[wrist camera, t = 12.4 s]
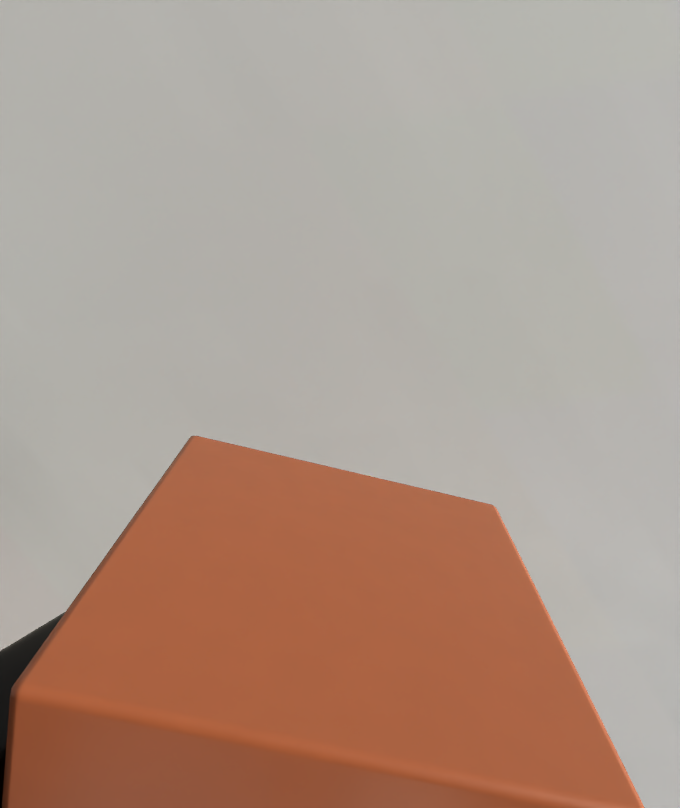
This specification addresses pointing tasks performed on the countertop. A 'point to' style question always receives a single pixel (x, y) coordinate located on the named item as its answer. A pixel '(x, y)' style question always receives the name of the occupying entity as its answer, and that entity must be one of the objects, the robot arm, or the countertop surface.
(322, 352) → the countertop surface
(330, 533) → the block
